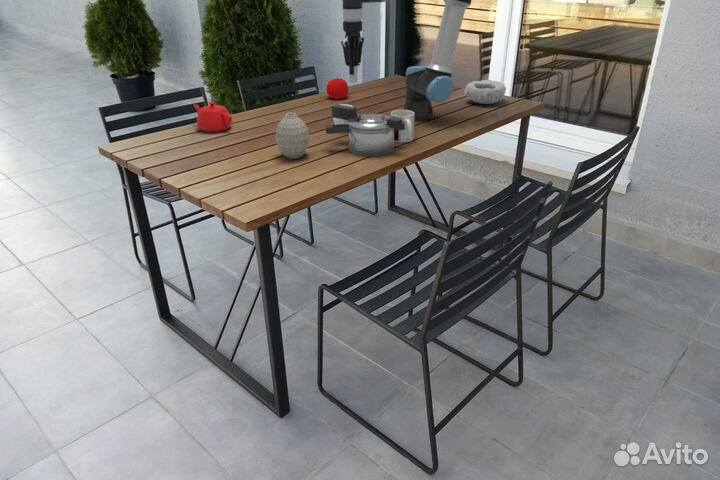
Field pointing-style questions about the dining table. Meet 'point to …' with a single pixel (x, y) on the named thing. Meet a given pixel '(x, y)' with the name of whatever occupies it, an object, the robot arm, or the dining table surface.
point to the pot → (367, 139)
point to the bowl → (485, 91)
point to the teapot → (213, 118)
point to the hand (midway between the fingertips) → (353, 82)
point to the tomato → (337, 88)
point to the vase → (292, 136)
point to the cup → (341, 121)
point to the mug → (408, 119)
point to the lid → (365, 119)
